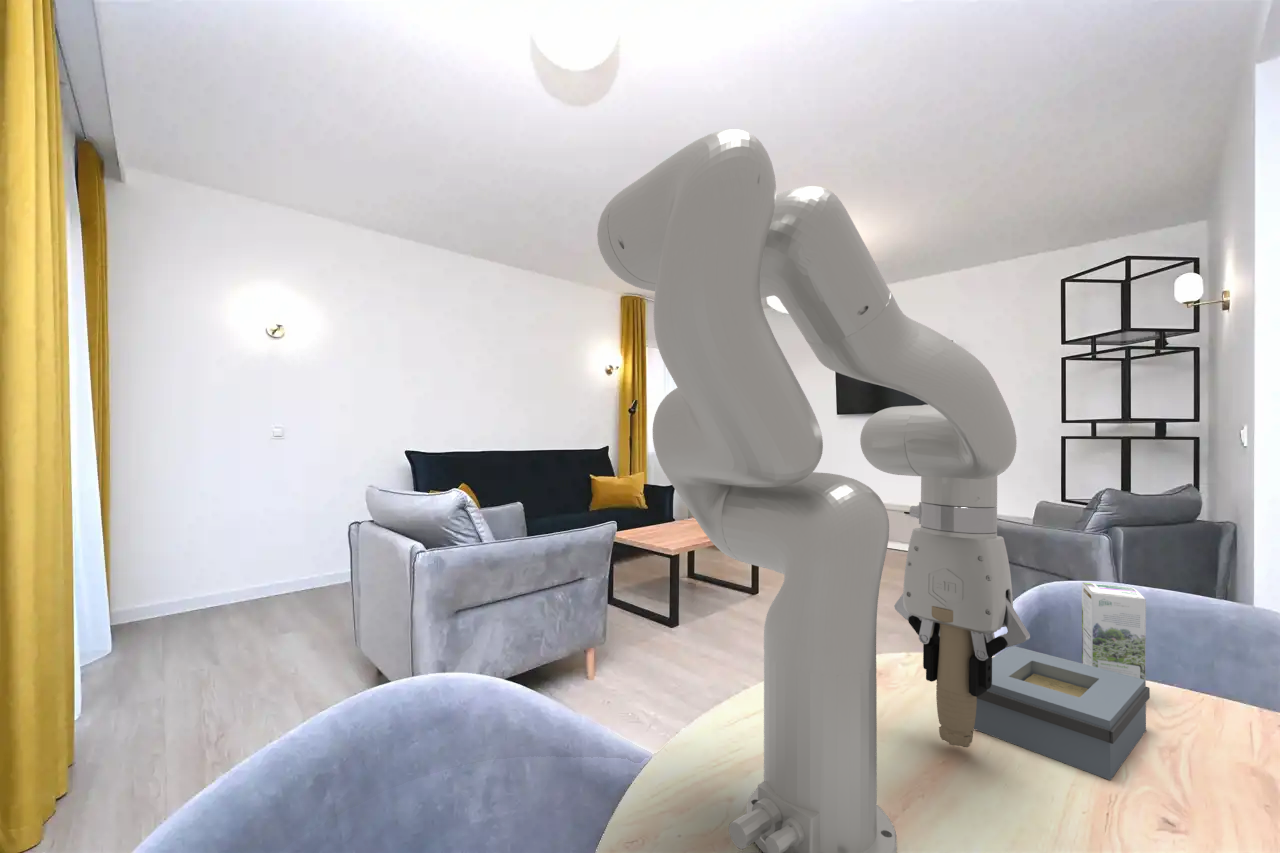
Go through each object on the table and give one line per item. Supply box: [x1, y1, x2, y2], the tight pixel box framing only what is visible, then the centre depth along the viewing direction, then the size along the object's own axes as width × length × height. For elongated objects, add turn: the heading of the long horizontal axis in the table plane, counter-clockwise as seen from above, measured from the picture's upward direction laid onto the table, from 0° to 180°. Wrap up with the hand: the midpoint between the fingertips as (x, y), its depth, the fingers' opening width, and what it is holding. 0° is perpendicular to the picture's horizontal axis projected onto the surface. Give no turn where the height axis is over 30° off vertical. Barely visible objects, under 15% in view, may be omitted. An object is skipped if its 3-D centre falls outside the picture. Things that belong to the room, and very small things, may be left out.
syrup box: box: [1081, 582, 1147, 680], centre depth 77 cm, size 6×6×14 cm
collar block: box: [973, 645, 1151, 781], centre depth 68 cm, size 17×15×6 cm
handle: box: [932, 606, 977, 748], centre depth 63 cm, size 5×6×15 cm
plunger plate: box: [1024, 674, 1088, 698], centre depth 68 cm, size 7×6×1 cm
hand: (956, 683), depth 63 cm, fingers closed on handle, 3 cm apart
